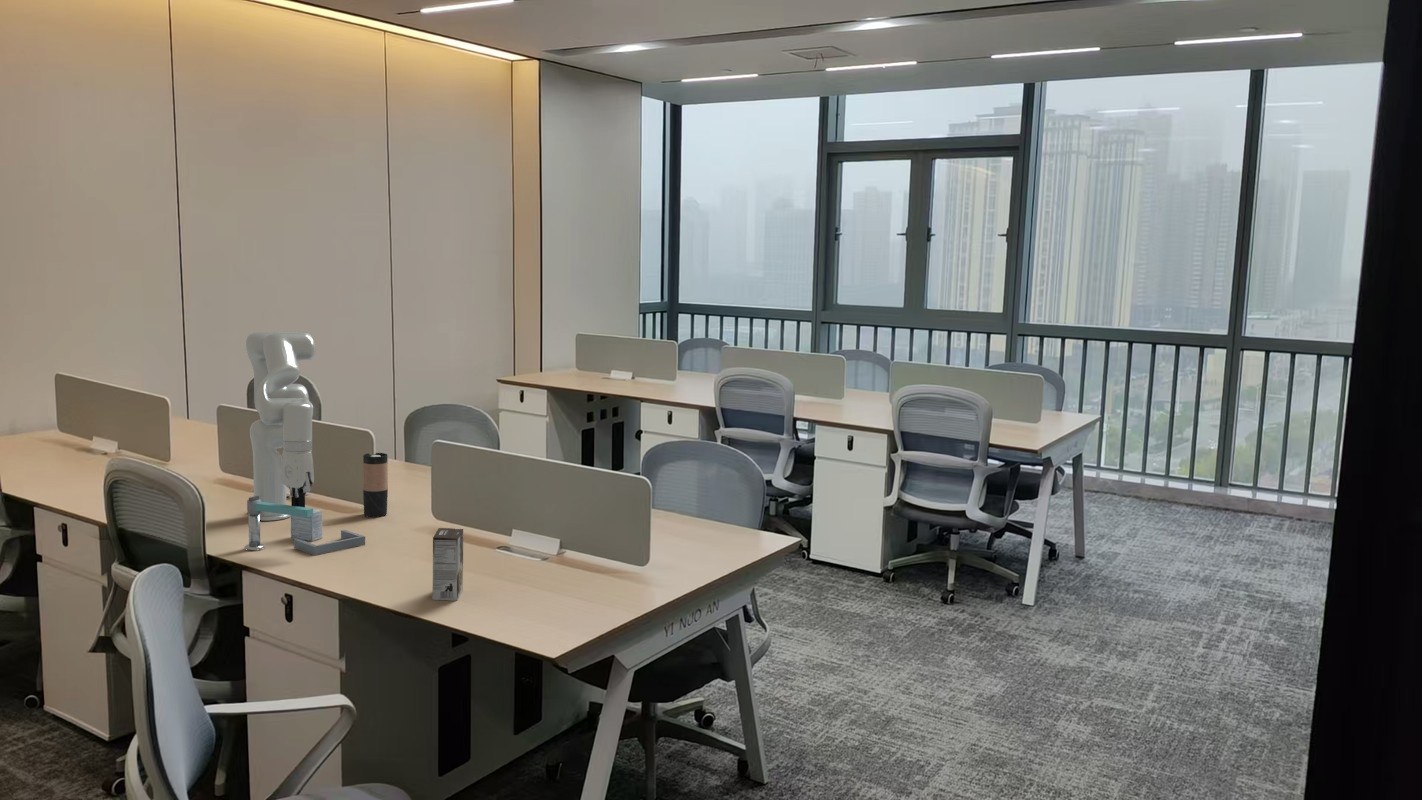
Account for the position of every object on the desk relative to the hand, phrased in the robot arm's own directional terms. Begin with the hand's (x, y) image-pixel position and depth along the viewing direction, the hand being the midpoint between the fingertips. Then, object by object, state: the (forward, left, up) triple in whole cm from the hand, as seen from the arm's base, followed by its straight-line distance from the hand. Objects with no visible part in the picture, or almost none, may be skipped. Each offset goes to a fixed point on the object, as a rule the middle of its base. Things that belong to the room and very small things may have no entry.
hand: (298, 510), depth 288 cm
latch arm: (-3, -4, -2) cm, 5 cm away
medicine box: (-11, +9, -12) cm, 19 cm away
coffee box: (+60, +5, -12) cm, 62 cm away
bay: (+1, +9, -12) cm, 15 cm away
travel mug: (-22, +40, -12) cm, 47 cm away
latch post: (-11, -7, -12) cm, 18 cm away
